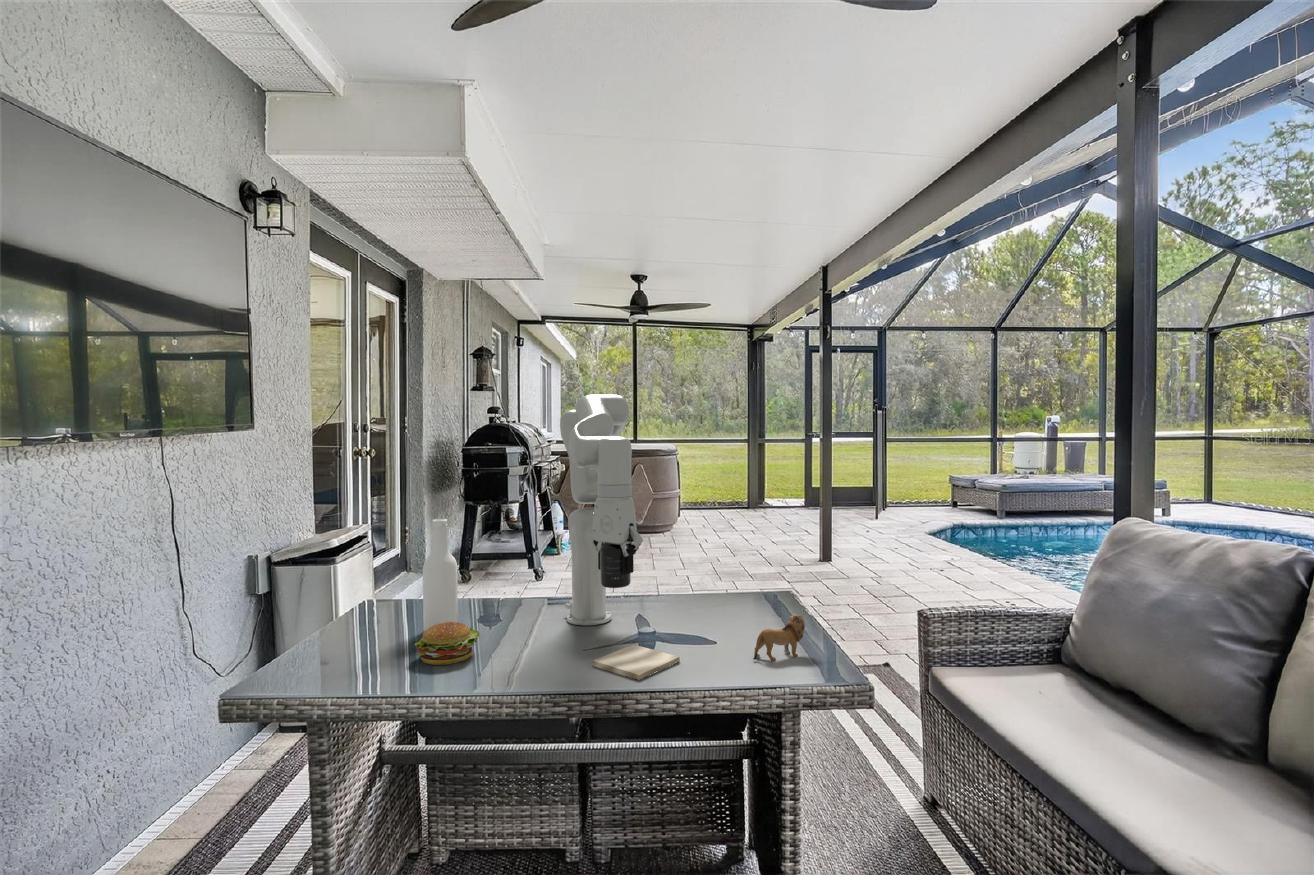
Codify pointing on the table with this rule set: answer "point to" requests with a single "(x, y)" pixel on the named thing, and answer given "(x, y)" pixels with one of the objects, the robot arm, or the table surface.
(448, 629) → the food
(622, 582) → the supplement bottle
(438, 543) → the alcohol
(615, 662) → the birch board
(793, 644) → the lion figurine
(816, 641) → the table surface
